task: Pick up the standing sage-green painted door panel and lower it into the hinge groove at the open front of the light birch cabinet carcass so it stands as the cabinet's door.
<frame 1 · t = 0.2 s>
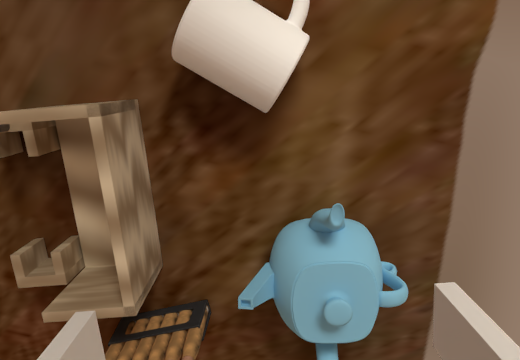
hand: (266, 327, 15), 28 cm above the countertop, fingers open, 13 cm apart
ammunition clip: (166, 313, 46), on the countertop
teapot: (313, 257, 45), on the countertop
carcass: (48, 194, 42), on the countertop
mug: (252, 33, 39), on the countertop
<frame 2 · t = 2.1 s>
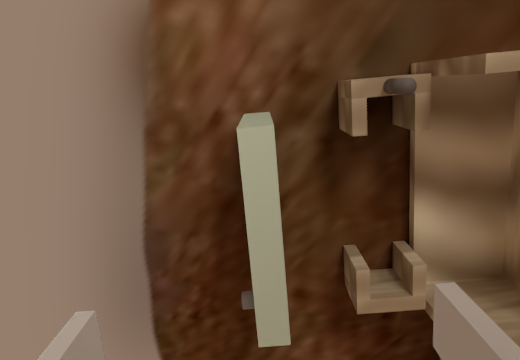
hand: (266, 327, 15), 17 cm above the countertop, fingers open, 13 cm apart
carcass: (373, 186, 31), on the countertop
door: (264, 195, 32), on the countertop
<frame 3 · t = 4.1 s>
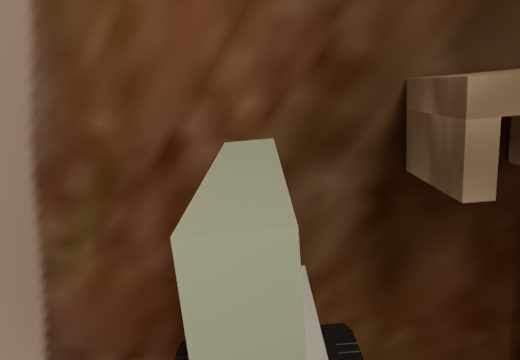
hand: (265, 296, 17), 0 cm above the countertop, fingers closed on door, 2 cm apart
carcass: (463, 274, 17), on the countertop
door: (262, 289, 17), on the countertop, touching gripper
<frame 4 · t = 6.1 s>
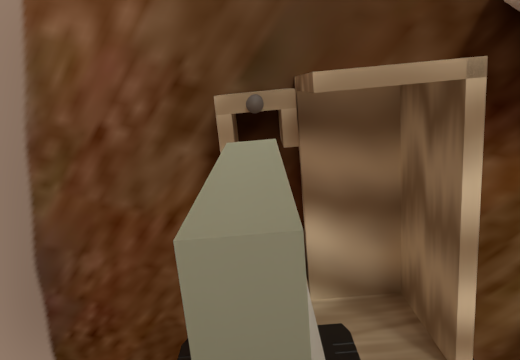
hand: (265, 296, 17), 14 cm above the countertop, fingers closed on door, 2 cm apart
carcass: (265, 202, 31), on the countertop
door: (265, 290, 17), point 14 cm above the countertop, touching gripper
when the fingers open (2 cm above the countertop, at t = 8.1 s): door drops 2 cm, on the countertop.
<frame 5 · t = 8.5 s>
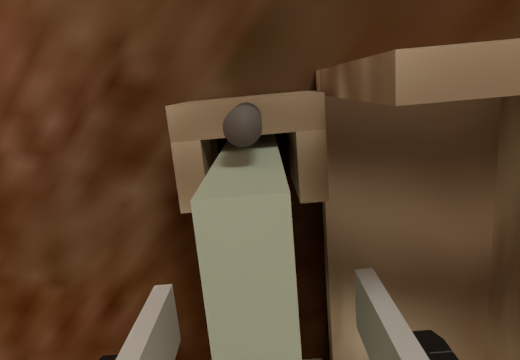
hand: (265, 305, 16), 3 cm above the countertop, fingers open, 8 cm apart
carcass: (264, 275, 19), on the countertop
door: (264, 270, 19), on the countertop
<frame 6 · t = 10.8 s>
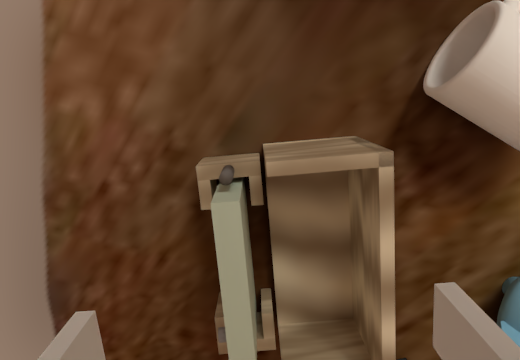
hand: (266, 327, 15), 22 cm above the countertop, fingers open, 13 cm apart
carcass: (240, 243, 37), on the countertop
door: (240, 241, 37), on the countertop
mug: (491, 62, 34), on the countertop
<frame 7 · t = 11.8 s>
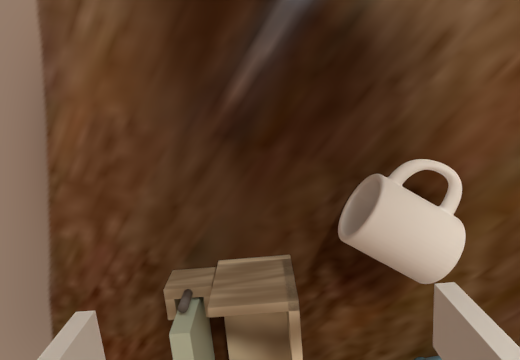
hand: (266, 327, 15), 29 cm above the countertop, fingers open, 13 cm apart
carcass: (203, 332, 48), on the countertop
door: (203, 330, 48), on the countertop
mug: (395, 200, 44), on the countertop
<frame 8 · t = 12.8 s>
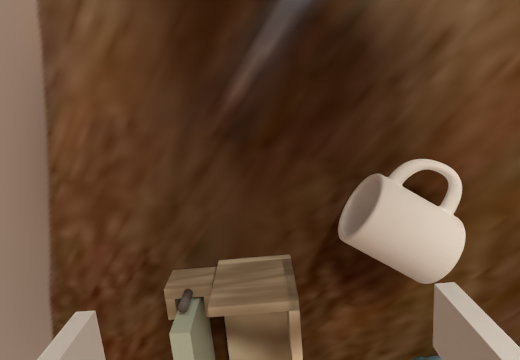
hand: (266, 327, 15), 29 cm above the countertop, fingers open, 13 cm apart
carcass: (203, 332, 48), on the countertop
door: (203, 330, 48), on the countertop
mug: (395, 200, 44), on the countertop
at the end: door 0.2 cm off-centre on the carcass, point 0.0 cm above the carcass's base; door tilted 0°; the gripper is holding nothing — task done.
